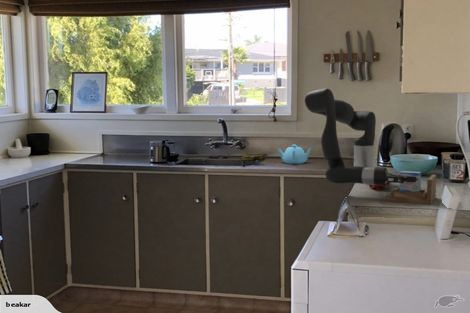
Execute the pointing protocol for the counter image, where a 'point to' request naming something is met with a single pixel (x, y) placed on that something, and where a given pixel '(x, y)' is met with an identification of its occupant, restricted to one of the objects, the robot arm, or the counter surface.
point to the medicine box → (411, 185)
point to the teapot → (294, 155)
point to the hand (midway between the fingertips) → (417, 178)
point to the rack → (415, 194)
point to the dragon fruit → (379, 186)
